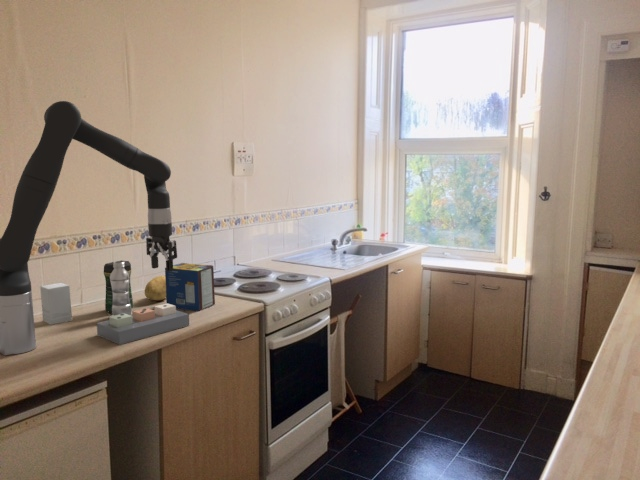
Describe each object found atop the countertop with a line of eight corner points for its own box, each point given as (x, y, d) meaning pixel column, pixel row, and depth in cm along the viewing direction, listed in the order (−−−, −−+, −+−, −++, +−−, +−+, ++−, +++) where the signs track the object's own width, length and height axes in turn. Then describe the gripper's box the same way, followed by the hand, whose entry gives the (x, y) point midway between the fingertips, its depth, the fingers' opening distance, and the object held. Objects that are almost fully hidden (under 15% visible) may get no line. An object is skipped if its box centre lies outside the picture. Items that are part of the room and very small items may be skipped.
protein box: (182, 300, 210) (181, 262, 208) (215, 304, 204) (214, 265, 202) (165, 307, 200) (163, 267, 198) (199, 311, 194) (197, 270, 192)
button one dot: (163, 322, 174) (162, 308, 174) (155, 319, 178) (154, 305, 177) (176, 318, 178) (175, 305, 177) (168, 315, 181) (167, 302, 181)
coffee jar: (117, 314, 190) (114, 264, 188) (101, 312, 194) (98, 262, 191) (137, 308, 199) (134, 260, 196) (121, 305, 202) (119, 258, 200)
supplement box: (72, 320, 183) (70, 285, 182) (50, 325, 178) (47, 289, 176) (64, 316, 188) (61, 282, 186) (42, 321, 183) (39, 285, 181)
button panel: (119, 344, 158) (119, 331, 158) (97, 335, 167) (96, 322, 167) (189, 325, 177) (188, 314, 176) (165, 317, 186) (165, 306, 185)
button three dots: (141, 327, 168) (140, 313, 168) (133, 324, 172) (132, 310, 171) (155, 324, 172) (154, 310, 171) (147, 321, 175) (146, 307, 175)
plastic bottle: (125, 320, 184) (122, 263, 181) (108, 319, 185) (104, 263, 182) (135, 314, 190) (132, 260, 187) (118, 313, 191) (115, 260, 188)
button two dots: (118, 333, 162) (117, 319, 162) (110, 330, 166) (109, 316, 165) (132, 329, 166) (132, 315, 165) (124, 326, 169) (124, 312, 169)
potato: (180, 297, 215) (179, 274, 214) (152, 305, 203) (151, 281, 202) (162, 294, 220) (161, 272, 219) (135, 302, 208) (133, 278, 207)
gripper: (137, 221, 176) (140, 268, 178) (162, 224, 167) (164, 274, 169) (157, 219, 181) (160, 265, 184) (182, 222, 172) (184, 270, 175)
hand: (162, 269), depth 176 cm, fingers open, 8 cm apart
